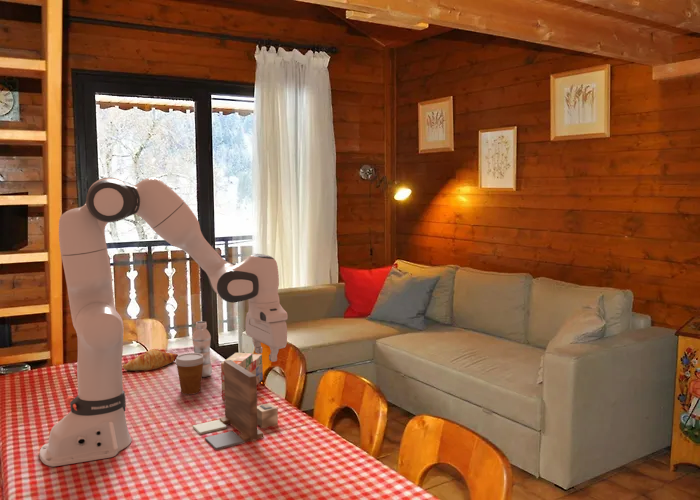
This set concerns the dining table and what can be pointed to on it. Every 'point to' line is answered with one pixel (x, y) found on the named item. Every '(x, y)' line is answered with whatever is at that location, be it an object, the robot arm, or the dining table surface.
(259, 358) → the stack of blocks
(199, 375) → the disposable coffee cup
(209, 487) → the dining table surface
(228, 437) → the slate pad
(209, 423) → the cream rectangular pad
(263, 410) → the marked cube
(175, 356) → the croissant
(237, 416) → the walnut screen
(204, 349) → the plastic bottle
